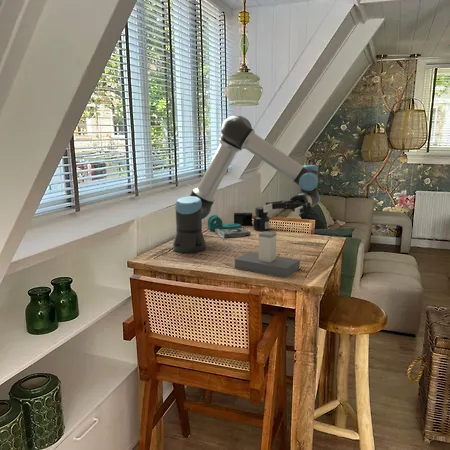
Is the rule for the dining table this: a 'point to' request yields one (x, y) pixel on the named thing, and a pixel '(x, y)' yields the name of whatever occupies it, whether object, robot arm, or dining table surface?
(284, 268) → the plate with square hole
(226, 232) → the graphics card
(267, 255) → the plug
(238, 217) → the digital camera
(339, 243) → the dining table surface
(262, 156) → the robot arm
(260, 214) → the ink bottle
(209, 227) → the bracket
